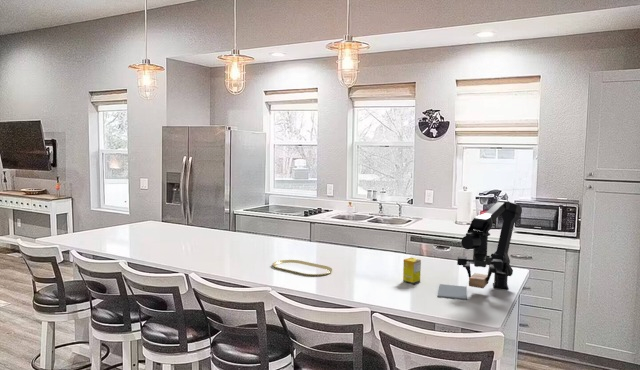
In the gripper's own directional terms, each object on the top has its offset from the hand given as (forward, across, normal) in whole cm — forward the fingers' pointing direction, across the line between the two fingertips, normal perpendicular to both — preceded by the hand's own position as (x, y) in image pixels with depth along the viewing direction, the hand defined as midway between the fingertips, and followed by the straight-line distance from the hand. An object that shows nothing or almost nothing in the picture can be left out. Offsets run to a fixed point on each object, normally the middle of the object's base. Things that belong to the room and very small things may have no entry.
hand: (478, 281), depth 207 cm
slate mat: (+6, -11, -1) cm, 12 cm away
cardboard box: (+1, 0, 0) cm, 1 cm away
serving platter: (+6, -87, +14) cm, 88 cm away
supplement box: (+6, -30, +9) cm, 32 cm away
